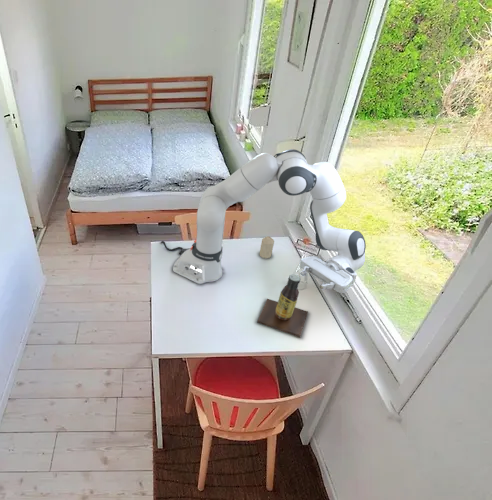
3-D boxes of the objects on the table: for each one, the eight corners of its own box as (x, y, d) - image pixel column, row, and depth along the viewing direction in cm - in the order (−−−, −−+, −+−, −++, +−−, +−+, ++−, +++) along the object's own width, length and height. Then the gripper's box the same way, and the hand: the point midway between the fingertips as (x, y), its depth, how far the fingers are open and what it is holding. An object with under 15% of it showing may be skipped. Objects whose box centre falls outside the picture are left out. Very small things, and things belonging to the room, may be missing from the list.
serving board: (257, 322, 148) (257, 320, 147) (266, 300, 157) (267, 298, 157) (300, 337, 141) (300, 335, 140) (307, 313, 151) (308, 311, 150)
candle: (271, 259, 180) (275, 241, 174) (259, 258, 181) (262, 240, 175) (270, 252, 184) (274, 235, 179) (259, 251, 185) (262, 234, 180)
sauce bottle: (271, 312, 150) (280, 273, 138) (283, 308, 152) (294, 269, 140) (282, 323, 145) (293, 284, 133) (295, 318, 147) (307, 279, 135)
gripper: (315, 249, 157) (291, 260, 151) (360, 276, 142) (336, 289, 137) (311, 261, 160) (288, 272, 155) (355, 288, 146) (331, 302, 140)
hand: (311, 280), depth 146 cm, fingers open, 8 cm apart
